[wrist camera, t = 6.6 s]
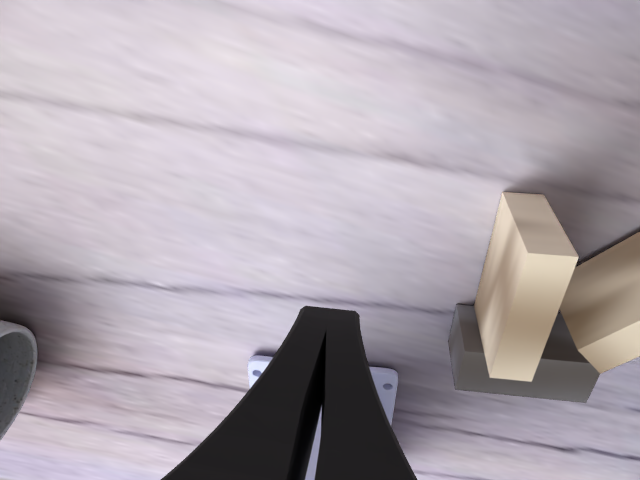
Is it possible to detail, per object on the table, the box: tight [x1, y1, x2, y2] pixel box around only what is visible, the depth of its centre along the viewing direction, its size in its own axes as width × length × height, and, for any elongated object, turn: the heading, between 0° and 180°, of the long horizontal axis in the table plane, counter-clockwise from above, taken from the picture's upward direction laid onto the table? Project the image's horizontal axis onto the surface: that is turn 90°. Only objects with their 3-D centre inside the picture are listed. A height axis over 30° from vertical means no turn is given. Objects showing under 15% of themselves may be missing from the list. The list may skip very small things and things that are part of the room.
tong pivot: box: [448, 192, 600, 403], centre depth 20 cm, size 8×6×4 cm, turn 179°
